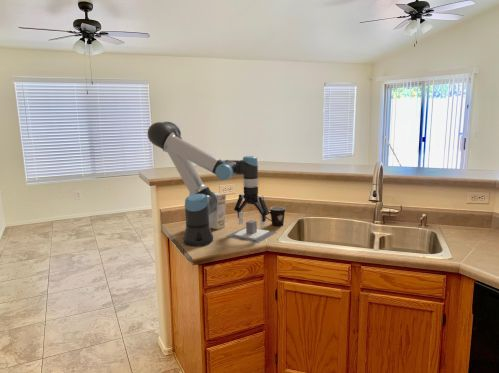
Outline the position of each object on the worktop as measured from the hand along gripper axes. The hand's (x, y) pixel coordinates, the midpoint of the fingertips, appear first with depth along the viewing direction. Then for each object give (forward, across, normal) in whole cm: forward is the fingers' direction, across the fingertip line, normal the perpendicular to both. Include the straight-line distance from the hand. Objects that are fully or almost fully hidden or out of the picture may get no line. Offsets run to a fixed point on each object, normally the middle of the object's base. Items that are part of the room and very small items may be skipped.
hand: (251, 225), depth 193 cm
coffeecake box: (+5, +28, -1) cm, 28 cm away
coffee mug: (+5, -2, -22) cm, 23 cm away
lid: (+5, 0, 0) cm, 5 cm away
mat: (+5, 0, 0) cm, 5 cm away
